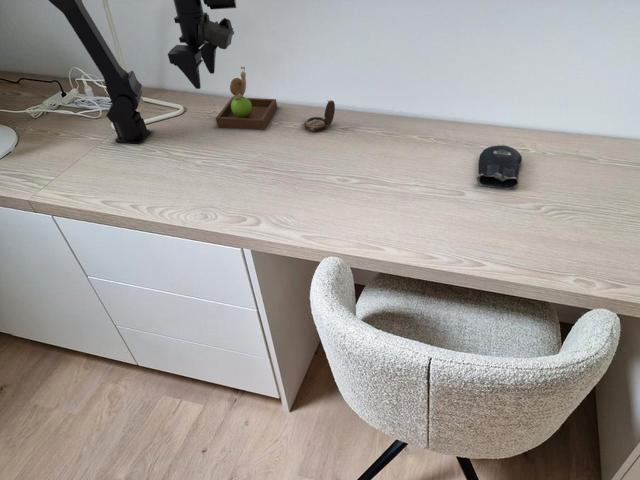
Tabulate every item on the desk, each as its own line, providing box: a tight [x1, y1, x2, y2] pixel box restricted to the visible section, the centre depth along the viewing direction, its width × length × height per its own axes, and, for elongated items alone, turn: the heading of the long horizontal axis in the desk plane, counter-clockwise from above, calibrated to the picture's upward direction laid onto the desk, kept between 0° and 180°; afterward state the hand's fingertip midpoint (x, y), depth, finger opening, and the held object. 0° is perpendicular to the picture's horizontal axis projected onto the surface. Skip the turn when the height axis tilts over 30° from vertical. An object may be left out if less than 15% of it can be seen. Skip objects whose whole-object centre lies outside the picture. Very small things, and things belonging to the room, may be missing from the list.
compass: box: [304, 99, 336, 133], centre depth 125 cm, size 8×8×7 cm
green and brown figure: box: [229, 66, 252, 118], centre depth 128 cm, size 5×6×12 cm
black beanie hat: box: [475, 144, 523, 190], centre depth 110 cm, size 9×6×15 cm
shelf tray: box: [215, 96, 278, 131], centre depth 131 cm, size 13×13×3 cm
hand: (205, 80), depth 119 cm, fingers open, 9 cm apart
